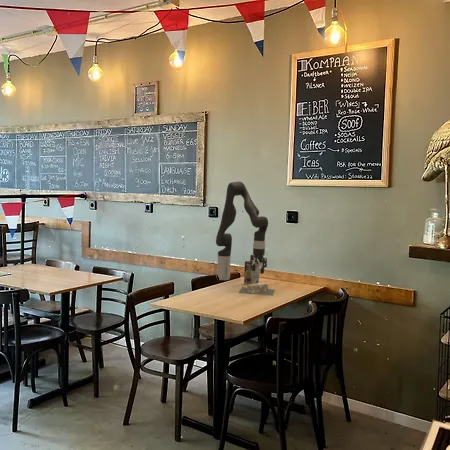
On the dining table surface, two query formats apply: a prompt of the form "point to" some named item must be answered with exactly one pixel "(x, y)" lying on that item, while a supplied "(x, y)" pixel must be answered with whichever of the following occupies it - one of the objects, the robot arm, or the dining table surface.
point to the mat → (269, 292)
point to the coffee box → (251, 273)
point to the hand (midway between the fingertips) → (257, 272)
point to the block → (257, 287)
